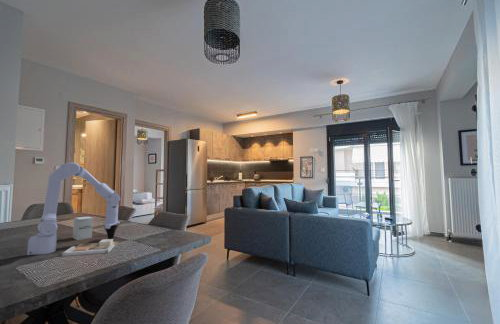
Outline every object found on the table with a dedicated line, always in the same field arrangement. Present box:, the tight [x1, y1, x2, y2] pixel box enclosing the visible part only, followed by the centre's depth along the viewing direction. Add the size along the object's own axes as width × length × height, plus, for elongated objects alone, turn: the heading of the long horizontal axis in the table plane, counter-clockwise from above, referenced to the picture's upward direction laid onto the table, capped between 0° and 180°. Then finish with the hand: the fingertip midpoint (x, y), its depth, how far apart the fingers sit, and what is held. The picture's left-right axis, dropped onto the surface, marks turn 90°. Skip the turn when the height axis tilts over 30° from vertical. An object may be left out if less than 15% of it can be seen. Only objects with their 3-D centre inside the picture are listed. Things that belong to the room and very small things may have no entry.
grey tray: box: [61, 244, 115, 257], centre depth 107 cm, size 18×10×2 cm, turn 107°
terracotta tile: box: [72, 246, 91, 252], centre depth 108 cm, size 5×5×2 cm
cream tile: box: [98, 238, 114, 246], centre depth 118 cm, size 5×5×2 cm
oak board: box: [75, 241, 119, 249], centre depth 116 cm, size 18×9×1 cm, turn 107°
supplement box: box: [72, 216, 94, 241], centre depth 130 cm, size 7×7×13 cm
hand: (110, 239), depth 125 cm, fingers closed
